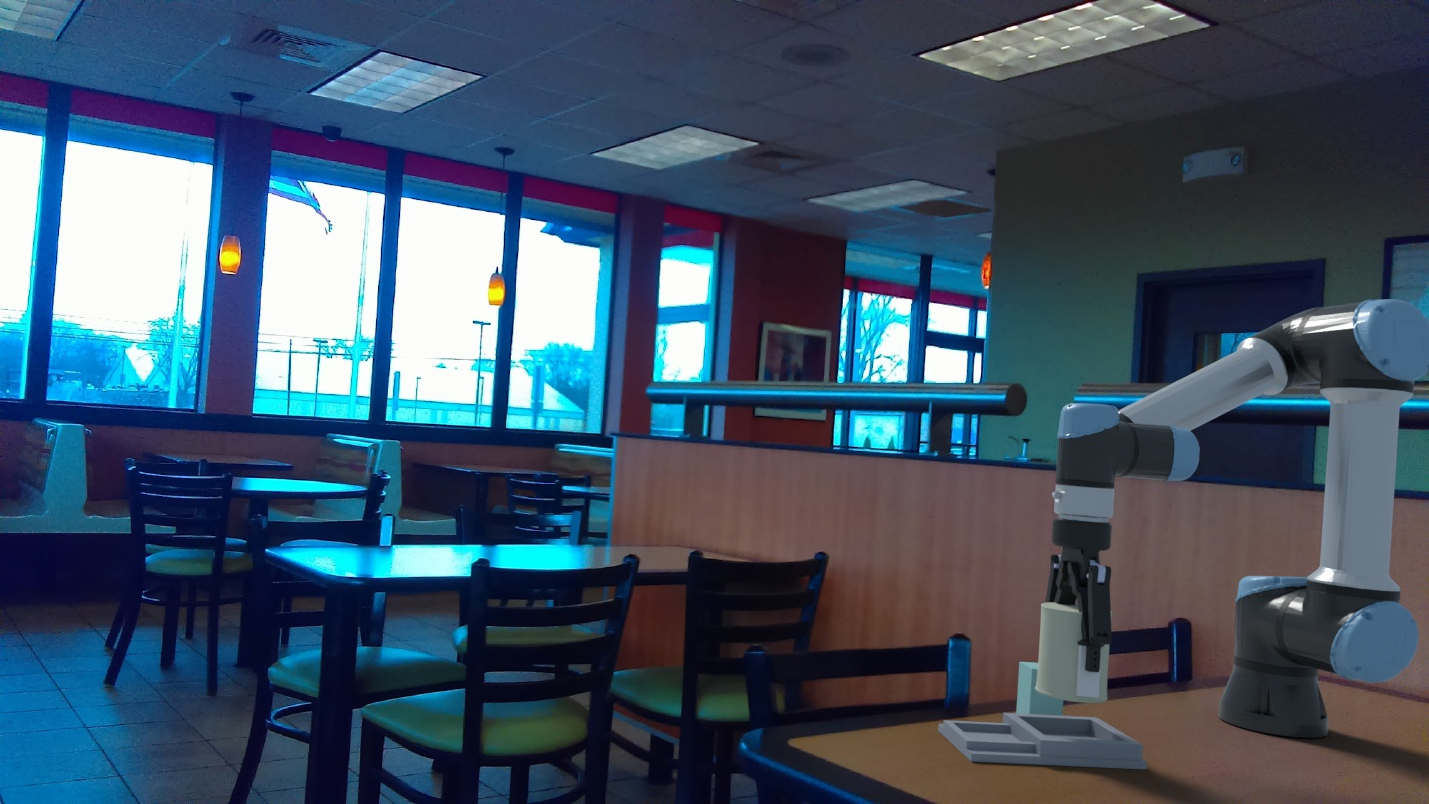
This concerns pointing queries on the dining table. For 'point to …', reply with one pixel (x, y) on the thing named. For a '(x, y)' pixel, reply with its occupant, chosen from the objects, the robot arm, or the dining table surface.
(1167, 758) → the dining table surface
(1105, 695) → the can
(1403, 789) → the dining table surface
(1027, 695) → the block
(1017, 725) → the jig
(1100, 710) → the dining table surface
